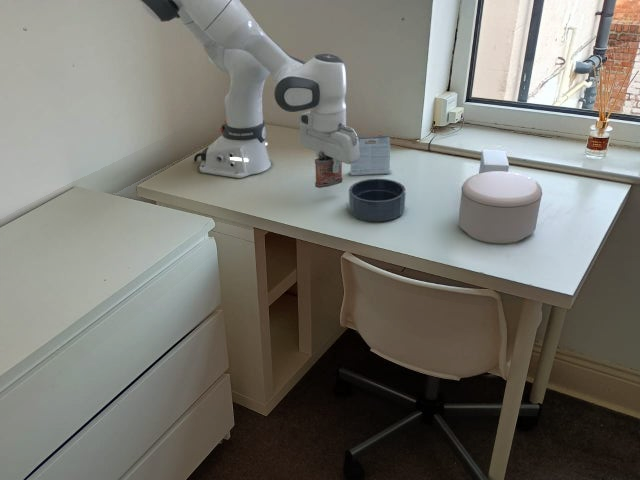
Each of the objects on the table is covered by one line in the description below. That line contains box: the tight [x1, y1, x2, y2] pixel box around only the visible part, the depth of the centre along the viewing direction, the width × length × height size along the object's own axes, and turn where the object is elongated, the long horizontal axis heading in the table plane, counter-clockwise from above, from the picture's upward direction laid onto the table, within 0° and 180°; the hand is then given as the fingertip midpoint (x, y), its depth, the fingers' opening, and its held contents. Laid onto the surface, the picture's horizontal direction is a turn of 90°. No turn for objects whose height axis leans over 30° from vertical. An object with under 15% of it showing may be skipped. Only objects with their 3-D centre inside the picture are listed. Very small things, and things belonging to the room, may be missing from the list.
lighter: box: [314, 151, 343, 189], centre depth 181 cm, size 8×3×10 cm, turn 113°
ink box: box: [350, 135, 391, 176], centre depth 195 cm, size 12×2×12 cm, turn 84°
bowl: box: [348, 178, 407, 222], centre depth 176 cm, size 14×14×6 cm
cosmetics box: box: [478, 149, 510, 174], centre depth 178 cm, size 10×6×10 cm, turn 166°
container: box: [458, 171, 543, 244], centre depth 161 cm, size 18×18×12 cm
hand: (329, 169), depth 181 cm, fingers closed on lighter, 3 cm apart
